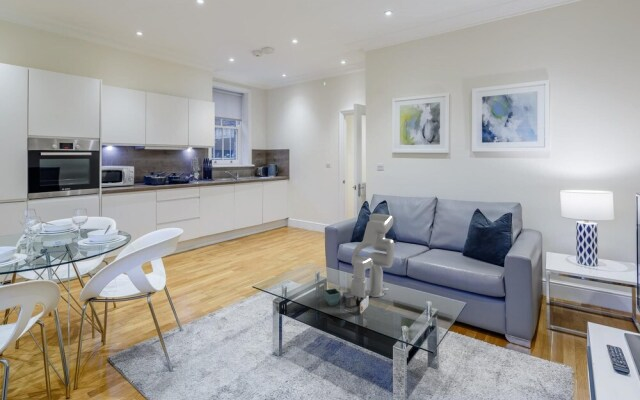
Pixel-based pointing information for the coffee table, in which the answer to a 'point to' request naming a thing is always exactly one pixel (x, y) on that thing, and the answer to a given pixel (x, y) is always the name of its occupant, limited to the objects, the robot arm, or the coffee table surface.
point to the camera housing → (349, 299)
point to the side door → (364, 304)
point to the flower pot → (332, 296)
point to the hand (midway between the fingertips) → (358, 305)
